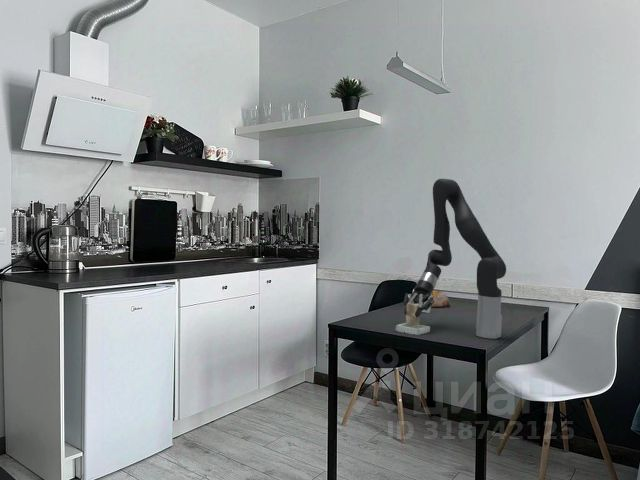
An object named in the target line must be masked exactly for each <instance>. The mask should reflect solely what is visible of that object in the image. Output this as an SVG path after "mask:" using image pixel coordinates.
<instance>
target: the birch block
mask: <svg viewBox="0 0 640 480" xmlns="http://www.w3.org/2000/svg"><path fill="white" fill-rule="evenodd" d="M418 308H419V304H414V303H409V304H407V314H406V315H405V323H406V325H410V326H419V325H420V318H421V317H420V316H421V315H420V316H418V317H416V316H415V312H416V311H417V309H418Z"/></svg>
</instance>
